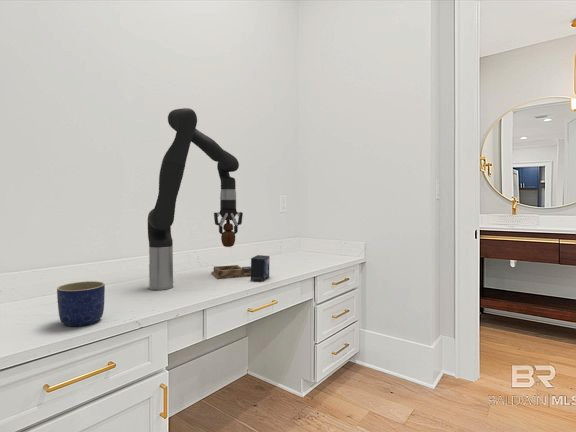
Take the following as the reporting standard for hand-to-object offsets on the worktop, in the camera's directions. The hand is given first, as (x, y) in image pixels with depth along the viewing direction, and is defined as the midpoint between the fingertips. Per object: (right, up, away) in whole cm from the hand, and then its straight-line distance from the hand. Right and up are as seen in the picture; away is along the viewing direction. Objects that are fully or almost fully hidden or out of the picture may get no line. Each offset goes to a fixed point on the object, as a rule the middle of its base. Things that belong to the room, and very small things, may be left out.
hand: (228, 233), depth 180 cm
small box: (+16, -21, -8) cm, 28 cm away
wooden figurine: (0, -6, 0) cm, 6 cm away
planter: (-32, -23, -69) cm, 80 cm away
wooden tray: (+3, -20, +2) cm, 20 cm away
